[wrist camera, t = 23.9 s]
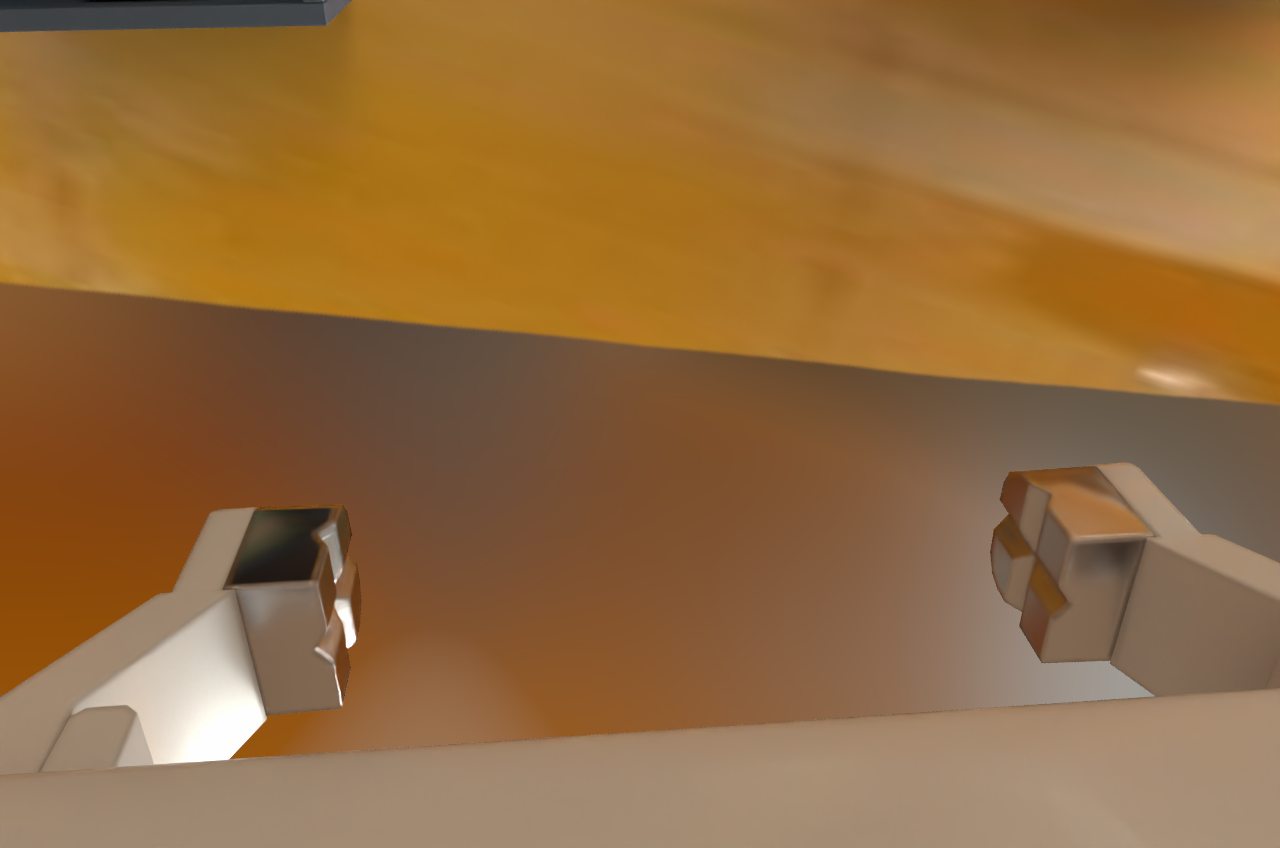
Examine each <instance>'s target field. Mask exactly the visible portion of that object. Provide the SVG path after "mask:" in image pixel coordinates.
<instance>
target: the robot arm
mask: <svg viewBox="0 0 1280 848" xmlns="http://www.w3.org/2000/svg"><path fill="white" fill-rule="evenodd" d="M1000 501H1001V502H1002V503H1003V505H1004V507H1005V508H1006V510H1007V512H1008V513H1009V514H1008V516H1006V517H1005V518H1004V520H1003V521H1002V522H1001V523H1000V524H999V525H998V526H997V527H996V528H995V529H994V532H993V538H992V544H991V551H990V553H991V565H992V574H993V577H994V580H995V583H996V586H997V589H998V591H999V592H1000V594H1001V596H1002V598H1003V599H1004V601H1005V602H1006V603H1008V604H1009V605H1011V606H1013V607H1014V608H1016V609H1018V610H1020V611H1021V612H1022V616H1021V621H1020V625H1019V626H1020V628H1021V630H1022V631H1023V633H1024V635H1025V636H1026V638H1027V640H1028V641H1029V643H1030V644H1031V646H1032V648H1033V649H1034V651H1035V653H1036V654H1037V656H1038V658H1039V659H1040V661H1041V663H1058V662H1083V661H1109V660H1110V661H1111V662H1110V664H1111V665H1113V666H1114V667H1116V668H1117V669H1118V670H1120V671H1121V672H1123V673H1124V674H1125V675H1127V676H1128V677H1130V678H1131V679H1132V680H1134V681H1135V682H1137V683H1138V684H1140V685H1141V686H1142V687H1144V688H1145V689H1147V690H1148V691H1149V692H1151V693H1152V694H1153V695H1155V696H1156V697H1142V698H1128V699H1112V700H1098V701H1083V702H1068V703H1054V704H1039V705H1024V706H1010V707H994V708H980V709H965V710H950V711H936V712H921V713H906V714H892V715H877V716H863V717H849V718H834V719H818V720H803V721H789V722H774V723H759V724H744V725H731V726H730V725H729V726H715V727H700V728H686V729H672V730H671V729H670V730H656V731H642V732H626V733H612V734H597V735H582V736H567V737H552V738H538V739H524V740H509V741H493V742H479V743H464V744H449V745H435V746H420V747H406V748H390V749H375V750H361V751H346V752H331V753H316V754H301V755H287V756H272V757H257V758H242V759H229V758H230V757H231V756H232V755H233V754H234V753H235V752H236V751H237V750H238V749H239V748H240V747H241V746H242V745H243V744H244V743H245V742H246V741H247V739H248V738H249V737H250V736H251V735H252V734H253V733H254V732H255V731H256V730H257V729H258V728H259V727H260V726H261V725H262V724H263V723H264V722H265V721H266V719H267V718H266V715H276V714H286V713H297V712H309V711H320V710H330V709H341V708H342V705H343V700H344V696H345V691H346V687H347V683H348V678H349V674H350V670H351V666H350V660H349V654H348V648H349V647H350V646H351V645H353V644H354V643H355V642H356V641H357V637H358V632H359V626H360V615H361V590H360V579H359V574H358V567H357V564H356V563H355V562H354V561H353V560H351V559H350V558H349V557H348V556H347V552H348V548H349V544H350V540H351V536H352V533H351V528H350V523H349V518H348V513H347V511H346V509H345V508H344V506H343V505H319V506H287V507H260V508H255V507H252V508H234V509H217V510H215V511H213V512H211V513H210V514H209V515H208V517H207V519H206V521H205V523H204V526H203V528H202V530H201V532H200V534H199V536H198V538H197V540H196V543H195V545H194V547H193V549H192V551H191V553H190V555H189V557H188V559H187V561H186V564H185V566H184V568H183V570H182V572H181V574H180V576H179V578H178V580H177V583H176V585H175V587H174V589H173V591H172V593H162V594H158V595H156V596H155V597H153V598H152V599H150V600H148V601H147V602H146V603H144V604H142V605H141V606H139V607H138V608H136V609H135V610H133V611H132V612H130V613H129V614H127V615H125V616H124V617H123V618H121V619H119V620H118V621H117V622H115V623H113V624H112V625H110V626H109V627H107V628H106V629H104V630H103V631H101V632H100V633H98V634H96V635H95V636H93V637H92V638H91V639H89V640H87V641H86V642H84V643H83V644H81V645H79V646H78V647H77V648H75V649H73V650H72V651H71V652H69V653H67V654H66V655H64V656H63V657H61V658H59V659H58V660H56V661H55V662H53V663H52V664H50V665H49V666H47V667H46V668H44V669H43V670H41V671H40V672H38V673H36V674H35V675H33V676H32V677H30V678H29V679H27V680H26V681H24V682H23V683H21V684H20V685H18V686H17V687H15V688H14V689H12V690H11V691H9V692H7V693H6V694H4V695H3V696H1V697H0V848H1280V563H1278V562H1276V561H1274V560H1271V559H1269V558H1267V557H1265V556H1262V555H1260V554H1257V553H1255V552H1253V551H1250V550H1248V549H1246V548H1243V547H1241V546H1239V545H1237V544H1234V543H1232V542H1230V541H1228V540H1225V539H1223V538H1220V537H1218V536H1216V535H1214V534H1208V535H1201V534H1200V533H1199V532H1197V530H1196V529H1195V528H1194V527H1193V526H1192V525H1191V524H1190V523H1189V522H1188V521H1187V519H1186V518H1185V517H1184V516H1183V515H1182V514H1181V513H1180V512H1179V511H1178V510H1177V509H1176V508H1175V507H1174V506H1173V505H1172V503H1171V502H1170V501H1169V500H1168V499H1167V498H1166V497H1165V496H1164V495H1163V494H1162V493H1161V492H1160V491H1159V489H1158V488H1157V487H1156V486H1155V485H1154V484H1153V483H1152V482H1151V481H1150V480H1149V479H1148V478H1147V477H1146V476H1145V474H1144V473H1143V472H1142V471H1141V470H1140V469H1139V468H1138V467H1137V466H1135V465H1132V464H1130V463H1127V462H1126V463H1113V464H1102V465H1090V466H1085V467H1072V468H1057V469H1044V470H1028V471H1014V472H1009V474H1008V476H1007V478H1006V480H1005V481H1004V484H1003V488H1002V493H1001V497H1000Z"/></svg>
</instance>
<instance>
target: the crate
mask: <svg viewBox="0 0 1280 848" xmlns="http://www.w3.org/2000/svg"><path fill="white" fill-rule="evenodd" d="M350 1H351V0H0V32H21V31H73V30H124V29H176V28H228V27H280V26H326V25H328V24H329V23H330V22H331V21H332V20H333V19H334V18H335V17H336V16H337V15H338V14H339V13H340V12H341V11H342V10H343V9H344V8H345V7H346V6H347V5H348V4H349V3H350Z"/></svg>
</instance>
